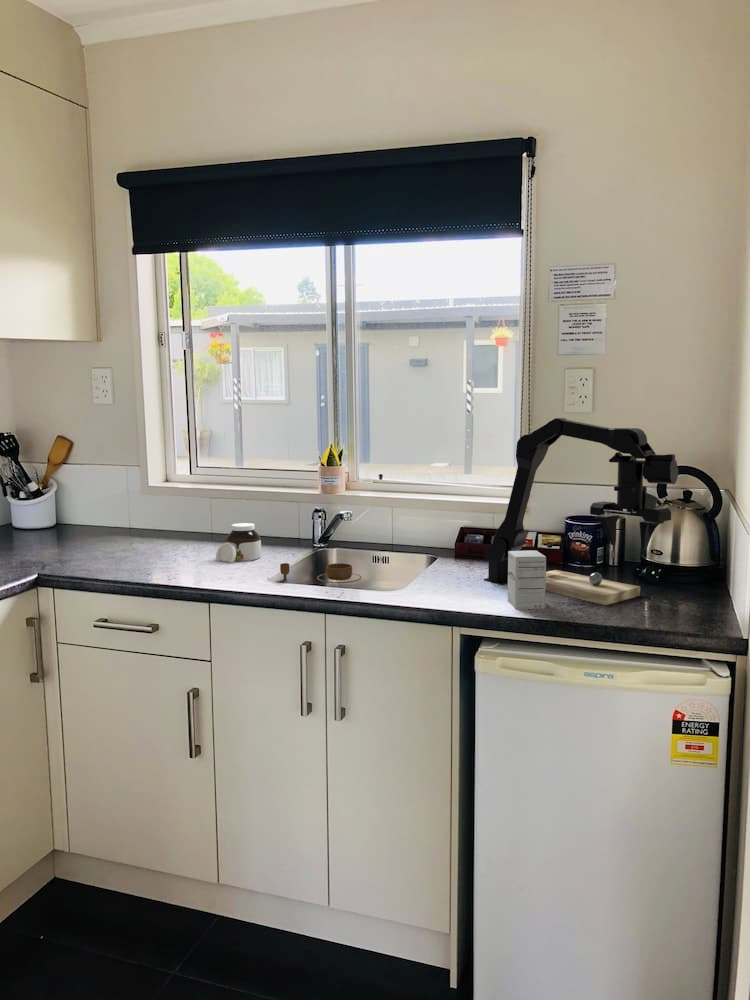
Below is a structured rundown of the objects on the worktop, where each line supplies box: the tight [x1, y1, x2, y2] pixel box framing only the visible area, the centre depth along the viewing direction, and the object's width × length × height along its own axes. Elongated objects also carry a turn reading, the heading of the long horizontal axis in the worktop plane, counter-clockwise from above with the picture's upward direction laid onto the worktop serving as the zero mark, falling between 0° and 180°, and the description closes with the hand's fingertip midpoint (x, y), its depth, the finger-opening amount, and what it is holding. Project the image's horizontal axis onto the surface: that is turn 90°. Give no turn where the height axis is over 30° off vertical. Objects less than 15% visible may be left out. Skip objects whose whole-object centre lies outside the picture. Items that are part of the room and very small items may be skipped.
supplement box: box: [507, 549, 547, 610], centre depth 194 cm, size 7×7×13 cm
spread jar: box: [215, 522, 262, 564], centre depth 245 cm, size 12×11×12 cm
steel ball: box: [589, 572, 603, 585], centre depth 204 cm, size 3×3×3 cm
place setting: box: [279, 562, 362, 584], centre depth 223 cm, size 18×20×6 cm
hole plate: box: [545, 569, 641, 606], centre depth 208 cm, size 14×26×2 cm, turn 39°
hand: (628, 547), depth 196 cm, fingers open, 8 cm apart
